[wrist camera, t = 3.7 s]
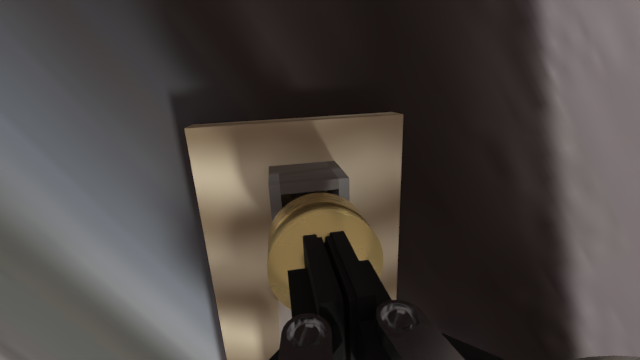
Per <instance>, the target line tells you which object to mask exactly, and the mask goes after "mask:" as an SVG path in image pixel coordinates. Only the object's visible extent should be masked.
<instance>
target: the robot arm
mask: <svg viewBox="0 0 640 360" xmlns="http://www.w3.org/2000/svg"><path fill="white" fill-rule="evenodd" d="M325 245H326V248H325ZM325 245H324V242H323V239H322V237H317V235H316V234H312V235H304V236H303V250H304V264H305V268H302V269H295V270H287V271H288V282H289V293H290V303H291V314H292V318H291V319H290V320H289V321H287V323H286V324H285V325H284V327H283V330H282V333H281V339H280V347H279V350H278V351H277V352H276V353H275V354H274V355H273V356H272V357H271V358H270V359H269V360H503V359H501V358H499V357H497V356H495V355H492V354H490V353H488V352H485V351H483V350H480V349H478V348H476V347H473V346H471V345H469V344H466V343H464V342H461V341H459V340H457V339H454V338H452V337H450V336H447V335H445V334H442V333H440V331H439V330H438V329H437V328H436V327H435V326H434V325H433V324H432V323H431V321H430V320H429V319H428V318H427V317H426V316H425V315H424V314H423V313H422V311H421V310H420V309H418V308H417V307H416V306H415V305H413V304H411V303H409V302H406V301H402V300H392V299H391V298H390V296H389V294H388V292H387V291H386V289H385V287H384V285H383V284H382V282H381V280H380V278H379V277H378V275H377V273H376V271H375V270H374V268H373V266H372V264H371V263H370V261H369V260H362V261H359V260H358V258H357V256H356V254H355V252H354V250H353V248H352V246H351V244H350V242H349V240H348V238H347V236H346V234H345V232H344V231H337V232H330V236H326V237H325ZM571 360H640V357H630V356H598V357H586V358H579V359H571Z"/></svg>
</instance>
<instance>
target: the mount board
mask: <svg viewBox="0 0 640 360" xmlns="http://www.w3.org/2000/svg"><path fill="white" fill-rule="evenodd" d="M184 129H185V135H186V140H187V146H188V151H189V157H190V162H191V168H192V173H193V178H194V184H195V189H196V195H197V200H198V206H199V211H200V216H201V222H202V227H203V233H204V238H205V244H206V249H207V254H208V260H209V265H210V271H211V276H212V282H213V287H214V293H215V298H216V303H217V309H218V314H219V320H220V325H221V331H222V336H223V341H224V347H225V352H226V358H227V360H269V359H270V358H271V357H272V356H273V355H274V354H275V353H276V352H277V351H278V350H279V347H280V338H279V309H278V299H277V297H276V296H275V295H274V293H273V291H272V289H271V287H270V284H269V281H268V274H267V259H268V234H269V230H270V227H271V224H272V222H273V220H274V218H275V217H276V215H277V214H278V213H279V211H280V210H281V209H282V208H283V207H284V206H286V205H287V204H288V203H290V202H291V201H292V198H291V196H292V194H293V193H304V192H314V191H317V192H318V193H330V194H335V195H338V196H341V197H343V198H345V199H346V200H348V201H349V202H351V203H352V204H353V205H354V206H355V207H356V208H357V209H358V210H359V212H360V213H361V215H362V216H363V217H364V219H365V220H366V222H367V223H368V224H369V226H370V227H371V229H372V230H373V231H374V233H375V234H376V236H377V237H378V239H379V241H380V244H381V246H382V250H383V259H384V261H383V269H382V273H381V276H380V280H381V282H382V284H383V285H384V287H385V289H386V291H387V292H388V294H389V296H390V298H391V299H392V300H396V294H397V268H398V242H399V216H400V190H401V164H402V138H403V114H399V113H394V112H384V113H368V114H352V115H336V116H320V117H305V118H289V119H273V120H257V121H241V122H225V123H209V124H193V125H191V126H188V127H186V128H184Z"/></svg>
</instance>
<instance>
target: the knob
mask: <svg viewBox="0 0 640 360" xmlns="http://www.w3.org/2000/svg"><path fill="white" fill-rule="evenodd" d="M291 198H292V201H291V202H290V203H288V204H287V205H286V206H284V207H283V208H282V209H281V210H280V211H279V213H278V214H277V215H276V217H275V218H274V220H273V222H272V224H271V227H270V230H269V234H268V259H267V274H268V281H269V284H270V287H271V289H272V291H273V293H274V295H275V296H276V297H277V299H278V300H279V301H280V302H281V303H282V304H283V305H285V306H286V307H288V308H289V309H291V303H290V293H289V282H288V271H287V270H295V269H302V268H305V264H304V250H303V236H304V235H312V234H316V235H317V237H322V239H323V242H324V245H325V237H326V236H330V232H337V231H344V232H345V234H346V236H347V238H348V240H349V242H350V244H351V246H352V248H353V250H354V252H355V254H356V256H357V258H358V260H359V261H362V260H369V261H370V263H371V264H372V266H373V268H374V270H375V271H376V273H377V275H378V277H379V278H380V276H381V273H382V269H383V261H384V259H383V250H382V246H381V244H380V241H379V239H378V237H377V236H376V234H375V233H374V231H373V230H372V229H371V227H370V226H369V224H368V223H367V222H366V220H365V219H364V217H363V216H362V215H361V213H360V212H359V210H358V209H357V208H356V207H355V206H354V205H353V204H352V203H351V202H349V201H348V200H346V199H345V198H343V197H341V196H338V195H335V194H330V193H318V192H317V191H314V192H304V193H293V194H292V196H291ZM325 248H326V245H325Z"/></svg>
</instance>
